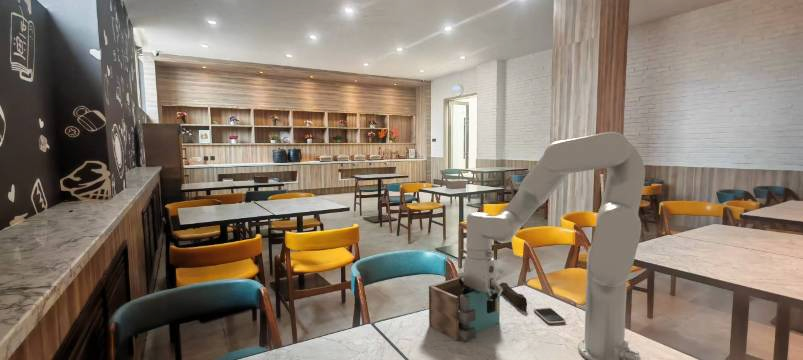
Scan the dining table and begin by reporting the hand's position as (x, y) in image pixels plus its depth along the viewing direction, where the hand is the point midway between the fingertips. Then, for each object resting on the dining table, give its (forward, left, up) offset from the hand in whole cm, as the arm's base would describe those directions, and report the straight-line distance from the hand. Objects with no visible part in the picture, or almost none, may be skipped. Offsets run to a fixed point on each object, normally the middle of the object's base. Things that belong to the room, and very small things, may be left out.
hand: (478, 306), depth 120 cm
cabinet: (+4, 0, -7) cm, 8 cm away
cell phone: (-9, -24, -8) cm, 27 cm away
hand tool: (+6, -27, -8) cm, 29 cm away
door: (0, -1, -7) cm, 7 cm away
